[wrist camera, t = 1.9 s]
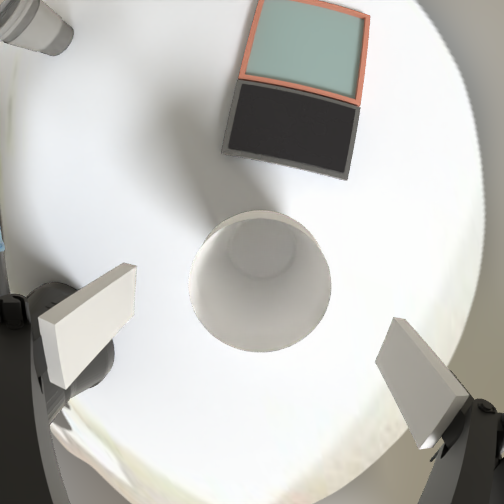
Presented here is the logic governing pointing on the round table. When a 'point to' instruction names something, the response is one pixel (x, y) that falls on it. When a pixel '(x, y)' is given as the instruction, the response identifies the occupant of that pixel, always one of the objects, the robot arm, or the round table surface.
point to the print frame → (308, 48)
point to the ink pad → (291, 129)
